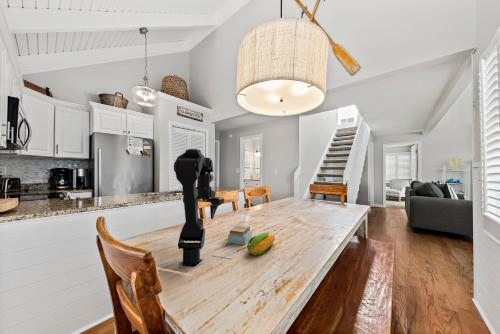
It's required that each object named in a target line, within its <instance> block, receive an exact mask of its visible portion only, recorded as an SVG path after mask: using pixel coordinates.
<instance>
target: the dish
mask: <svg viewBox="0 0 500 334" xmlns="http://www.w3.org/2000/svg"><path fill="white" fill-rule="evenodd" d="M252 232H253V231H252V230H251V229H250V230H249V231H248V232H247V233H246V234H245V235H244V236H235V235H230V232H228V234H227V243H229V244H237V245H244V246H247V244H248V242H249V240H250V239H251V238H253V237H252V236H253V235H252Z"/></svg>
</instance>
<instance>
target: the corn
mask: <svg viewBox="0 0 500 334" xmlns="http://www.w3.org/2000/svg"><path fill="white" fill-rule="evenodd" d="M275 241H276V236H275V235H273V234H271V233H270V232H263V233H260V234H258V235H255V236H253V237H252V238H251V239H250V240H249V241H248V242H247V244H246V248H247V251H248V252H249V254H250V255H252V256H254V257H255V256H260V255H263V254H265V253H266V252H267V251H269V250H270V248H271V247H272V245H273V244H274V242H275Z"/></svg>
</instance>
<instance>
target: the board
mask: <svg viewBox="0 0 500 334" xmlns="http://www.w3.org/2000/svg"><path fill="white" fill-rule="evenodd" d="M249 230H251V226H249V225H243V224H242V225H241V224H237V225H236V226H234V227H232V229H230V230H229V233H230V235H235V236H244V235H245V234H246V233H247V232H248V231H249Z"/></svg>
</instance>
